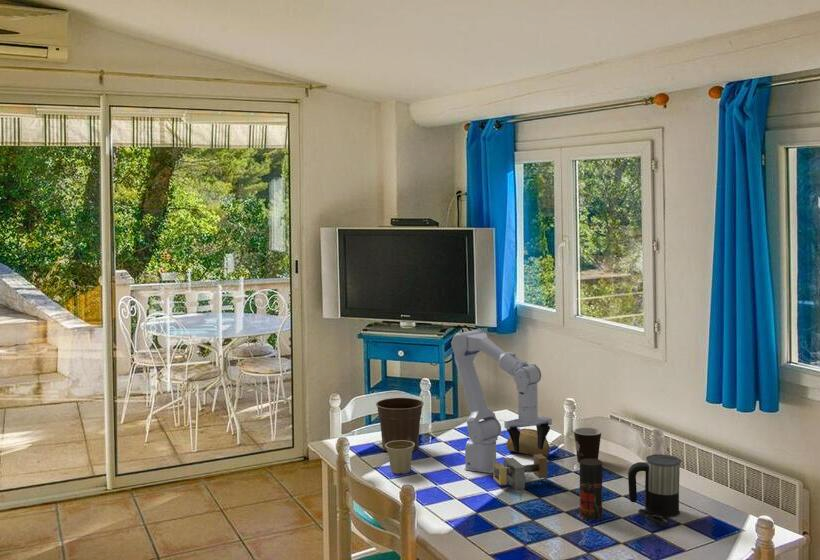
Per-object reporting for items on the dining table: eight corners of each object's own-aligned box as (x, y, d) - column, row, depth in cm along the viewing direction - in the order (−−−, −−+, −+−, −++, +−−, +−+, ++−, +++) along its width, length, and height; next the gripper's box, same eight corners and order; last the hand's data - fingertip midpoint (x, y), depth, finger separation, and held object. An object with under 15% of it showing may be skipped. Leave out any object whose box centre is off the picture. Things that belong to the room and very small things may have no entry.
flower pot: (380, 474, 270) (380, 447, 269) (392, 465, 279) (392, 439, 278) (408, 477, 267) (408, 450, 266) (419, 467, 275) (419, 441, 274)
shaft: (497, 483, 255) (497, 463, 254) (492, 478, 259) (492, 459, 259) (547, 477, 259) (546, 458, 258) (541, 472, 263) (541, 453, 263)
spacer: (500, 485, 255) (500, 468, 254) (493, 478, 260) (493, 462, 260) (506, 484, 255) (506, 468, 254) (499, 478, 261) (499, 462, 260)
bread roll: (512, 446, 296) (512, 424, 295) (554, 452, 289) (554, 429, 288) (501, 454, 287) (501, 431, 286) (544, 460, 280) (544, 436, 279)
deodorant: (577, 512, 236) (577, 458, 234) (598, 510, 236) (598, 457, 235) (583, 520, 230) (583, 465, 228) (605, 519, 230) (605, 464, 229)
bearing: (515, 489, 254) (515, 468, 253) (503, 479, 263) (503, 458, 262) (524, 488, 255) (524, 467, 254) (513, 478, 264) (512, 457, 263)
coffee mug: (601, 466, 273) (601, 435, 272) (573, 465, 275) (573, 434, 274) (600, 454, 284) (600, 425, 283) (574, 453, 286) (574, 424, 285)
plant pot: (403, 438, 307) (402, 394, 305) (434, 448, 295) (433, 402, 293) (367, 448, 297) (366, 402, 295) (397, 459, 285) (396, 411, 283)
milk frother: (671, 504, 240) (672, 452, 238) (698, 526, 224) (698, 471, 223) (622, 508, 238) (622, 456, 236) (645, 530, 222) (646, 475, 221)
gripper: (510, 411, 252) (511, 456, 253) (555, 406, 255) (556, 451, 257) (501, 405, 258) (502, 449, 260) (546, 401, 262) (546, 444, 264)
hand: (528, 449), depth 259 cm, fingers open, 7 cm apart
